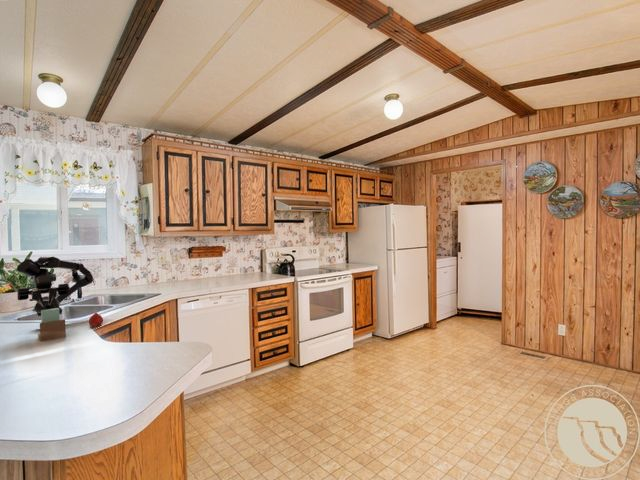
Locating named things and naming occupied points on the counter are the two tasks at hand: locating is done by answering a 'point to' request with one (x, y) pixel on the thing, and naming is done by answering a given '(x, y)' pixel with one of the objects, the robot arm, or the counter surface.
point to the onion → (95, 320)
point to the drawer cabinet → (52, 330)
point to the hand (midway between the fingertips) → (46, 305)
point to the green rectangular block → (50, 315)
